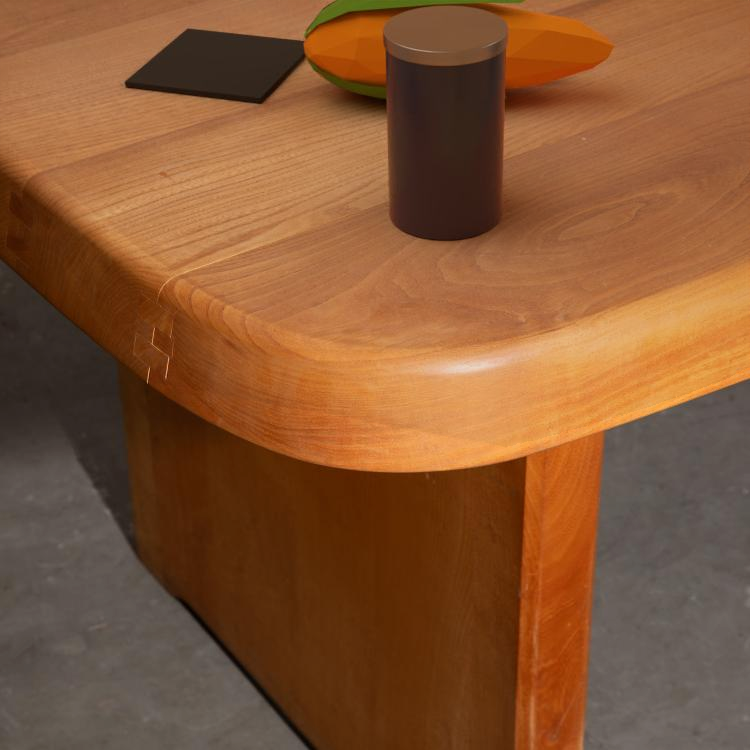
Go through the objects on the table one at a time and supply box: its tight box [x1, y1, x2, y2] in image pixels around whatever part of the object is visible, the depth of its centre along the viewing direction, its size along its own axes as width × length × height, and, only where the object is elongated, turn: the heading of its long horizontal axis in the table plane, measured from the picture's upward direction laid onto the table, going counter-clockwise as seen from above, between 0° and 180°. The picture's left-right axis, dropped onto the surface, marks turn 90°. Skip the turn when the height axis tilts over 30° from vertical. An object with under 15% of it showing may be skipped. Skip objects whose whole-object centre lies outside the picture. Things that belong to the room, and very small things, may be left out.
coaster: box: [124, 27, 306, 104], centre depth 101 cm, size 10×10×1 cm
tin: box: [383, 6, 509, 241], centre depth 79 cm, size 7×7×11 cm
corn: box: [303, 0, 615, 100], centre depth 94 cm, size 7×8×20 cm
